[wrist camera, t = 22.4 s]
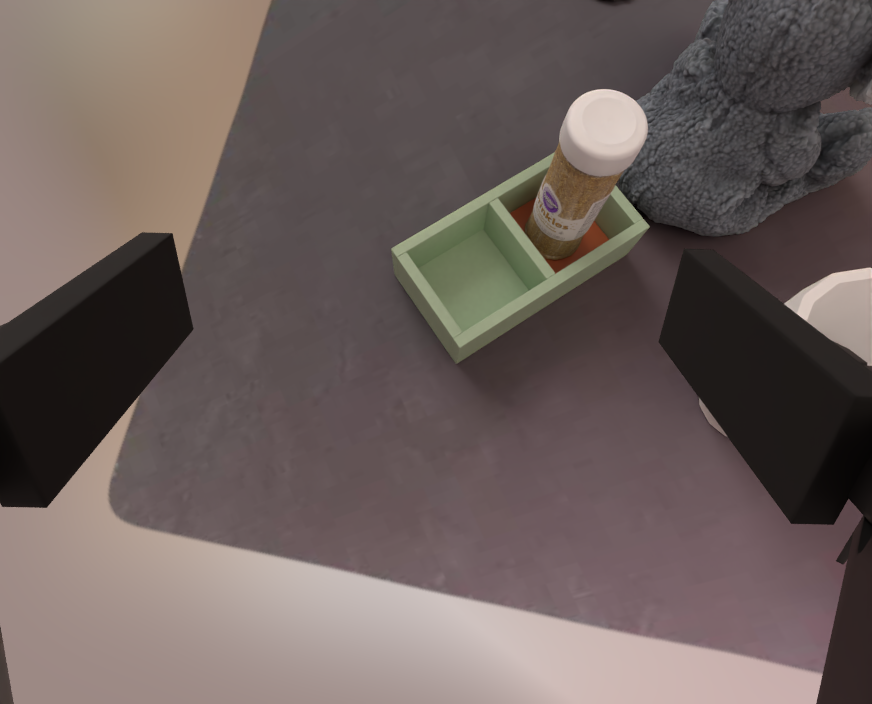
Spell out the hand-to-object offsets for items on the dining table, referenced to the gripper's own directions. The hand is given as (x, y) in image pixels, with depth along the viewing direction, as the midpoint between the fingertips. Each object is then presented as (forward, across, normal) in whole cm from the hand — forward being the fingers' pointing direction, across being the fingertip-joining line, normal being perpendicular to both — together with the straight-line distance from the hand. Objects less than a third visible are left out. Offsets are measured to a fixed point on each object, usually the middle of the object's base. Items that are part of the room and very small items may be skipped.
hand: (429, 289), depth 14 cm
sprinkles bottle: (+28, +10, -8) cm, 31 cm away
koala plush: (+34, +23, -3) cm, 41 cm away
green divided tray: (+27, +6, -10) cm, 29 cm away
